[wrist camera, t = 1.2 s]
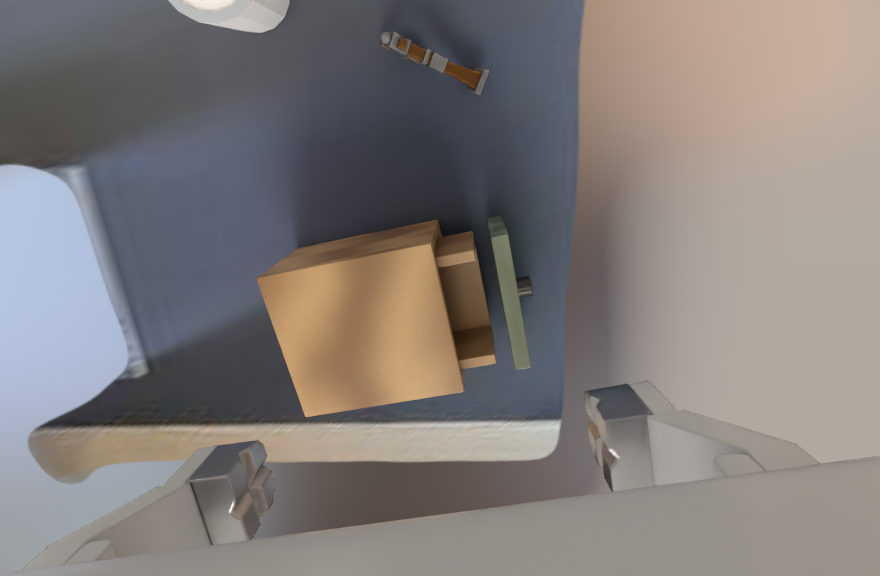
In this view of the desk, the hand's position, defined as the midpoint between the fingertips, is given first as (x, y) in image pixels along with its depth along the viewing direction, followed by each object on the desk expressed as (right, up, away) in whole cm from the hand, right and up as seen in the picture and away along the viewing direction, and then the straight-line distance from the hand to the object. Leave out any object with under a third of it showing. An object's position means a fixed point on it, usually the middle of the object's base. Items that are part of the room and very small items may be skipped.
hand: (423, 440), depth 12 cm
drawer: (+1, +4, +29) cm, 29 cm away
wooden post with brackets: (0, +21, +25) cm, 32 cm away
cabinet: (-5, +3, +31) cm, 31 cm away
